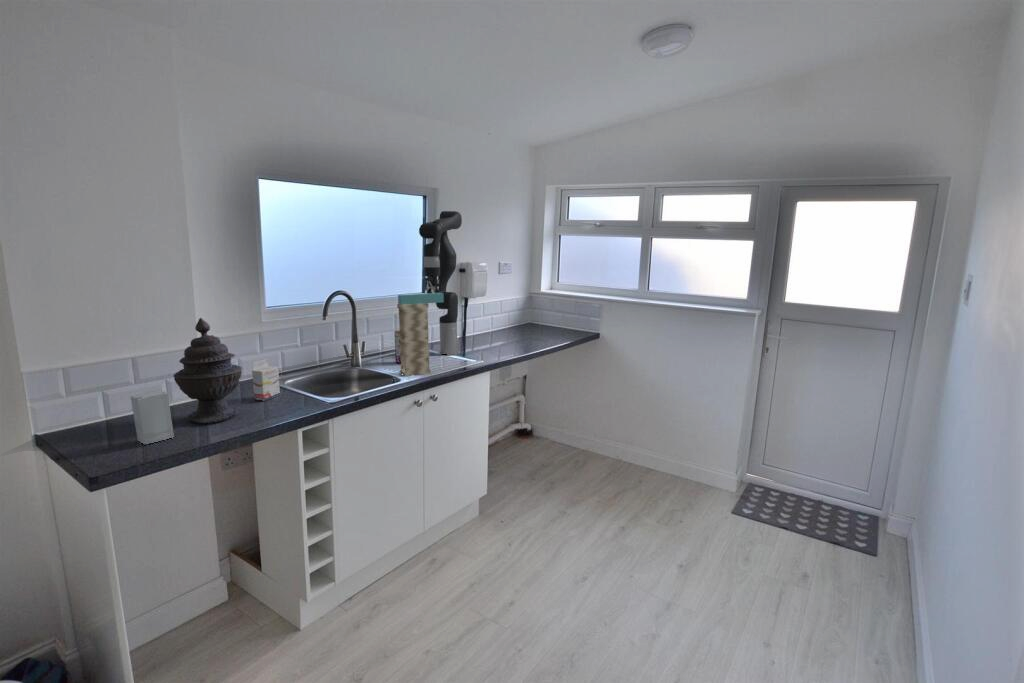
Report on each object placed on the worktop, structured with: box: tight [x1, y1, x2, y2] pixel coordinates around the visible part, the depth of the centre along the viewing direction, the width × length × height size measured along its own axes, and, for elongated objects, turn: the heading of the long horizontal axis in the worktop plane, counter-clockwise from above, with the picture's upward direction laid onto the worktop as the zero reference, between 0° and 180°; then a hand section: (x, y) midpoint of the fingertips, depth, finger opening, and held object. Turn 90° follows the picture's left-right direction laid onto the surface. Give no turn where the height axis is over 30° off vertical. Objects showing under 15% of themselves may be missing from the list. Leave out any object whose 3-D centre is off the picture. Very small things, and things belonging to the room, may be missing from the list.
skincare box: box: [130, 389, 175, 444], centre depth 161 cm, size 8×6×15 cm
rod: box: [397, 292, 444, 305], centre depth 241 cm, size 20×4×4 cm, turn 120°
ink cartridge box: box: [251, 358, 281, 399], centre depth 205 cm, size 9×5×15 cm, turn 160°
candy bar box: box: [394, 328, 401, 363], centre depth 266 cm, size 11×5×16 cm, turn 84°
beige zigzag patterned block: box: [396, 303, 432, 377], centre depth 242 cm, size 12×7×32 cm, turn 120°
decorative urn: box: [173, 317, 243, 424], centre depth 181 cm, size 20×20×35 cm
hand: (433, 300), depth 258 cm, fingers open, 8 cm apart
